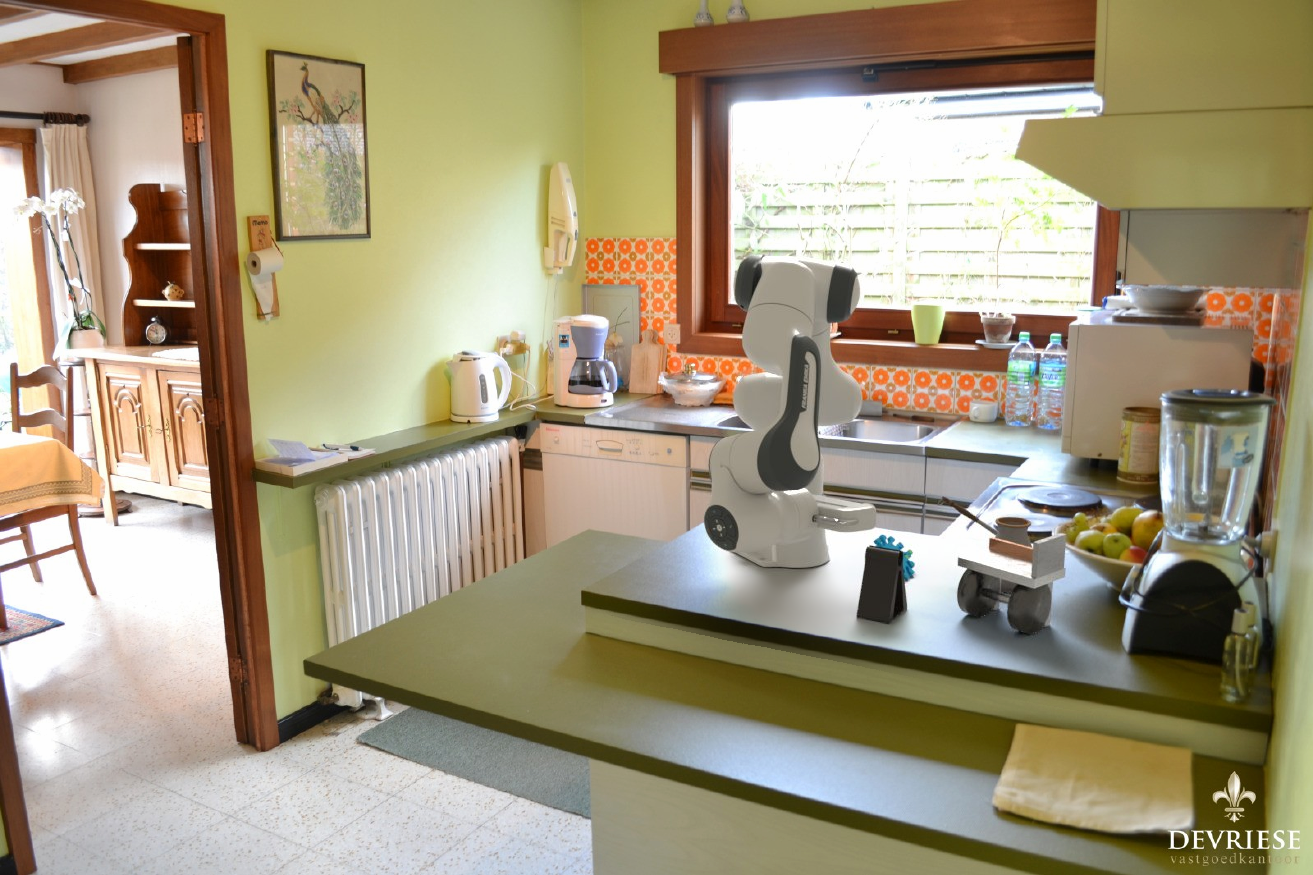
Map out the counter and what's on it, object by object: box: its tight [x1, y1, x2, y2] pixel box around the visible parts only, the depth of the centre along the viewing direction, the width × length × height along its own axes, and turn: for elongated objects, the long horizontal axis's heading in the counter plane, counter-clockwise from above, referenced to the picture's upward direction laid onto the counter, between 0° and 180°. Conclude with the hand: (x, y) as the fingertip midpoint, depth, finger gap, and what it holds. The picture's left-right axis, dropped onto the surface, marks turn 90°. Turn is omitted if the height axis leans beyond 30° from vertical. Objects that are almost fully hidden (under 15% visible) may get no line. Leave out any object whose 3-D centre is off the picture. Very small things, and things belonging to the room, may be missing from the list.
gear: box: [873, 534, 916, 581], centre depth 202 cm, size 11×6×10 cm
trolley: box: [956, 532, 1067, 635], centre depth 175 cm, size 15×10×17 cm
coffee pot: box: [937, 496, 1033, 594], centre depth 196 cm, size 21×12×15 cm, turn 44°
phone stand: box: [856, 544, 908, 625], centre depth 180 cm, size 9×6×12 cm, turn 146°
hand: (847, 504), depth 169 cm, fingers open, 8 cm apart
